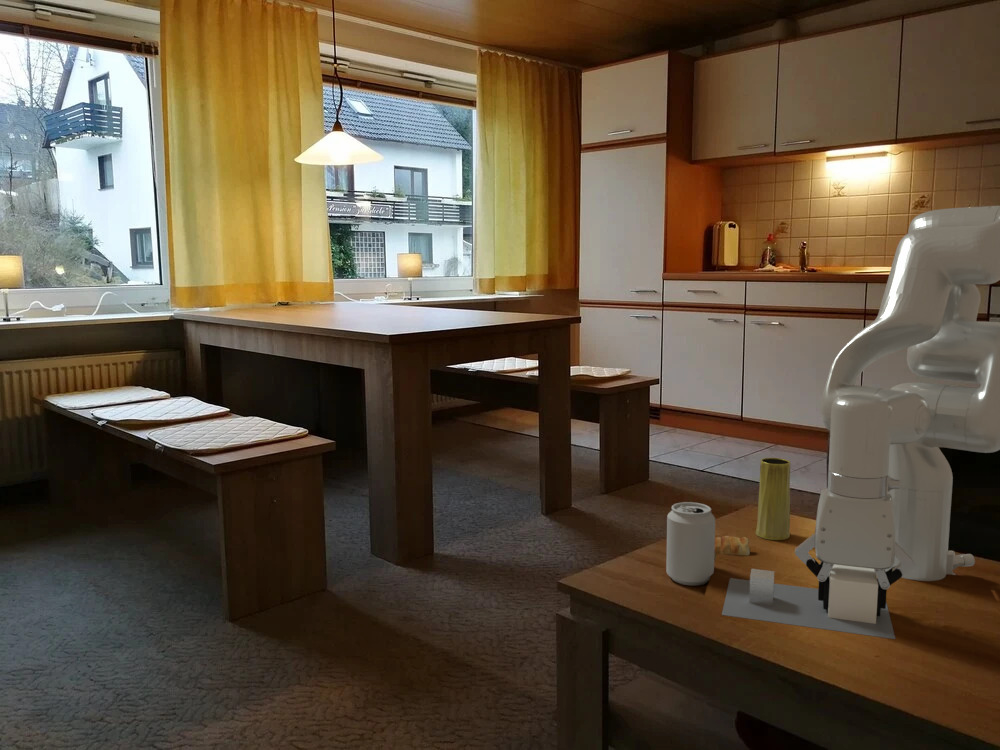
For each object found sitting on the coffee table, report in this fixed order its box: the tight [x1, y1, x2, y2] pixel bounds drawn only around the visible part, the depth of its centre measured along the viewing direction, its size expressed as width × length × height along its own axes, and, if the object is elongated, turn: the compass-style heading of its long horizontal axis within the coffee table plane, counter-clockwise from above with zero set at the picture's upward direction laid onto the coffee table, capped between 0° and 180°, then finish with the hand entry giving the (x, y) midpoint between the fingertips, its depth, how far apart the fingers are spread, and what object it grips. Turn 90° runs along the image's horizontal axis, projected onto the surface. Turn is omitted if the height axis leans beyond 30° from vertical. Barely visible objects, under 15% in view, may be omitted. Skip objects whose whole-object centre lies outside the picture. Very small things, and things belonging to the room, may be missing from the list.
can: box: [665, 501, 716, 586], centre depth 127 cm, size 8×8×12 cm
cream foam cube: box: [828, 564, 878, 624], centre depth 111 cm, size 6×6×6 cm
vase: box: [755, 457, 791, 541], centre depth 147 cm, size 6×6×14 cm
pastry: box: [714, 535, 751, 561], centre depth 137 cm, size 9×7×4 cm
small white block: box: [749, 568, 775, 606], centre depth 115 cm, size 3×3×4 cm
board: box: [721, 577, 896, 640], centre depth 114 cm, size 22×14×2 cm, turn 69°
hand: (850, 607), depth 111 cm, fingers closed on cream foam cube, 5 cm apart
